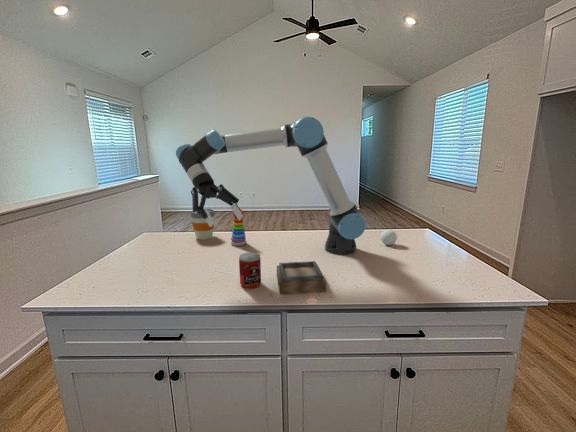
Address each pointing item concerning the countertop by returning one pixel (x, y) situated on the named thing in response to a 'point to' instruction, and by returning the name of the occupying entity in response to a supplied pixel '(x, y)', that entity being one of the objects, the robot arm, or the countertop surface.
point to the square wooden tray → (300, 278)
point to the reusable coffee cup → (202, 225)
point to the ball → (388, 237)
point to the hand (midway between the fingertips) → (227, 221)
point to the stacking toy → (238, 232)
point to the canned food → (250, 270)
